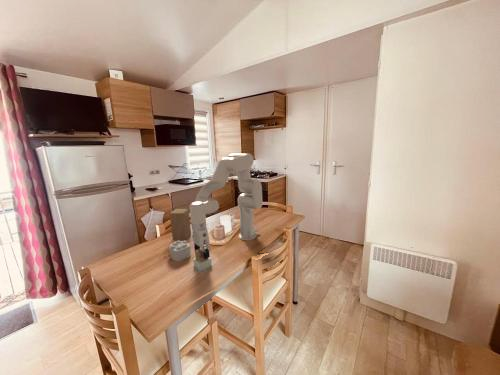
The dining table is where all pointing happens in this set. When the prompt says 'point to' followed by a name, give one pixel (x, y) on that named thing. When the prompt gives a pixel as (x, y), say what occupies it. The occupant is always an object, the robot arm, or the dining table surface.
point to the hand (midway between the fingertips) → (202, 254)
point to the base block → (202, 263)
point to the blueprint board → (203, 269)
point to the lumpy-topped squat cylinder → (179, 250)
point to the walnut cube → (200, 255)
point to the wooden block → (180, 224)
